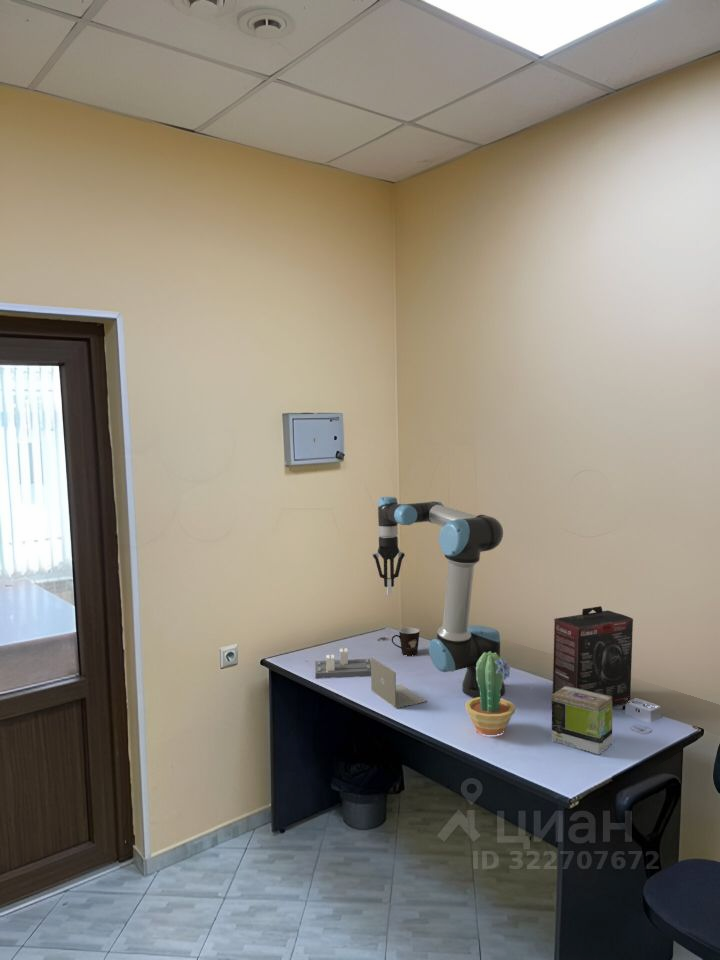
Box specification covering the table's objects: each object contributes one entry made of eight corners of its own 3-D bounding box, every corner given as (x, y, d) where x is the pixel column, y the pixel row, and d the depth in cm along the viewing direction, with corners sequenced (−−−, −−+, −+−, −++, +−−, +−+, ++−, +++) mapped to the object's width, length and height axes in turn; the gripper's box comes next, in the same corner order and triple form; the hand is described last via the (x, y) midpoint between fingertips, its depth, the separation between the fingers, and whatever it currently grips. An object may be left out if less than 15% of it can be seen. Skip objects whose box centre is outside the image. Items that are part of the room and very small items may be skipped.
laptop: (426, 702, 241) (426, 666, 240) (395, 710, 235) (394, 672, 234) (401, 686, 257) (400, 651, 256) (371, 692, 252) (370, 656, 251)
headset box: (605, 690, 248) (606, 599, 246) (633, 702, 237) (634, 607, 234) (551, 703, 238) (551, 608, 235) (577, 716, 226) (578, 617, 224)
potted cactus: (478, 745, 208) (477, 663, 206) (456, 724, 223) (456, 647, 221) (524, 737, 212) (524, 657, 210) (500, 717, 227) (500, 642, 225)
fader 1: (334, 670, 267) (334, 657, 267) (326, 671, 267) (326, 658, 267) (334, 667, 271) (333, 654, 271) (326, 667, 271) (326, 654, 271)
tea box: (613, 744, 207) (613, 695, 206) (599, 756, 199) (599, 706, 198) (565, 730, 217) (565, 684, 216) (550, 741, 209) (550, 693, 208)
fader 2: (347, 663, 275) (347, 651, 274) (340, 664, 274) (339, 651, 274) (347, 660, 279) (347, 648, 278) (339, 660, 278) (339, 648, 278)
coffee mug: (420, 650, 296) (419, 627, 295) (419, 657, 287) (419, 633, 286) (392, 650, 297) (392, 627, 296) (391, 657, 288) (391, 633, 287)
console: (373, 675, 267) (373, 669, 267) (315, 678, 266) (315, 672, 265) (370, 663, 281) (369, 657, 281) (315, 665, 279) (315, 659, 279)
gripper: (403, 534, 280) (404, 591, 281) (370, 535, 279) (372, 593, 281) (405, 537, 272) (406, 596, 274) (372, 538, 271) (373, 597, 273)
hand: (389, 594), depth 277 cm, fingers closed
